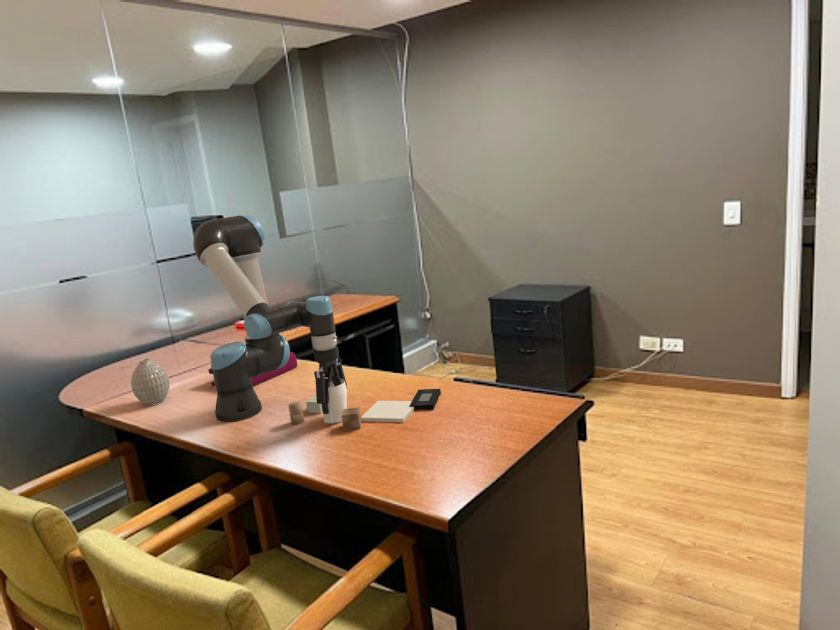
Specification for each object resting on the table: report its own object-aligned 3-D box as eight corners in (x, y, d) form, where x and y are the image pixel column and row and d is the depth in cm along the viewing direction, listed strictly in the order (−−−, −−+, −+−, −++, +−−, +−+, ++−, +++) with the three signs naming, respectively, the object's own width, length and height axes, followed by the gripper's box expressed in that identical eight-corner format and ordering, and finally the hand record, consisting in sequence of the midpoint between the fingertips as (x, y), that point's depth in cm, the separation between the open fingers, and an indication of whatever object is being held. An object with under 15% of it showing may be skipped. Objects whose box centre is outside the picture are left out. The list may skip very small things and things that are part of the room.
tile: (361, 421, 190) (360, 417, 190) (378, 404, 203) (378, 400, 202) (403, 422, 185) (403, 418, 185) (418, 404, 198) (418, 401, 198)
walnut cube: (343, 431, 184) (341, 415, 183) (345, 424, 189) (343, 409, 188) (360, 429, 184) (358, 413, 183) (361, 422, 189) (359, 407, 188)
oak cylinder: (289, 424, 194) (285, 406, 193) (295, 419, 198) (292, 401, 196) (300, 425, 193) (297, 406, 191) (306, 419, 196) (303, 402, 195)
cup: (345, 424, 189) (339, 387, 186) (317, 425, 191) (311, 388, 188) (354, 413, 197) (349, 377, 195) (327, 414, 199) (322, 378, 196)
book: (298, 368, 255) (295, 350, 253) (246, 392, 233) (242, 372, 231) (263, 364, 267) (260, 347, 265) (209, 386, 244) (206, 368, 243)
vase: (130, 405, 231) (120, 362, 228) (163, 394, 240) (154, 352, 237) (144, 411, 222) (135, 367, 219) (178, 399, 231) (169, 356, 228)
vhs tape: (410, 411, 194) (409, 405, 194) (419, 395, 208) (418, 389, 207) (433, 410, 193) (433, 404, 192) (441, 394, 206) (440, 388, 206)
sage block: (307, 413, 202) (306, 401, 202) (318, 405, 209) (316, 394, 208) (321, 413, 200) (319, 402, 200) (331, 405, 207) (330, 394, 206)
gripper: (319, 357, 178) (331, 431, 183) (351, 337, 197) (360, 404, 202) (296, 357, 180) (308, 430, 185) (330, 337, 200) (339, 403, 205)
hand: (335, 416), depth 194 cm, fingers closed on cup, 9 cm apart
